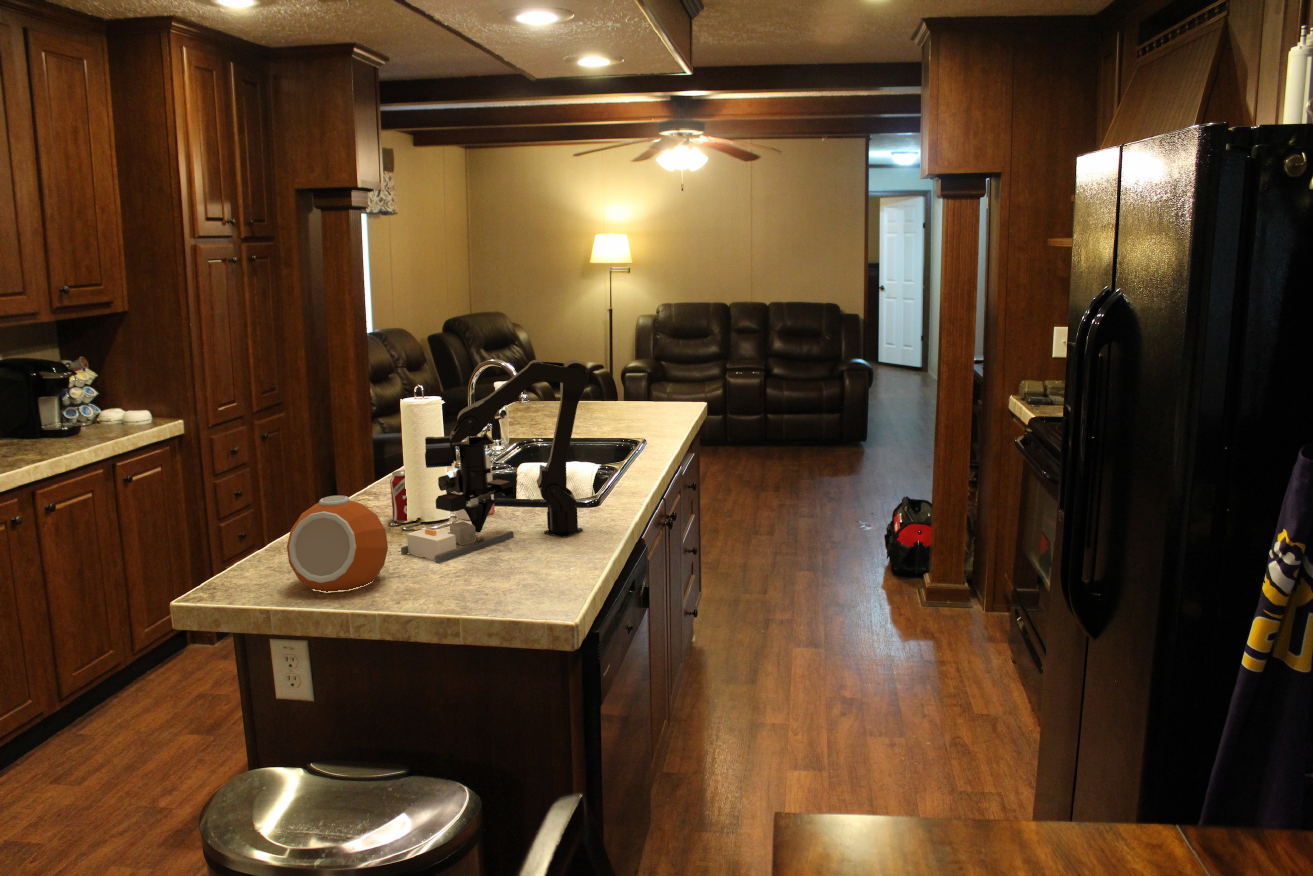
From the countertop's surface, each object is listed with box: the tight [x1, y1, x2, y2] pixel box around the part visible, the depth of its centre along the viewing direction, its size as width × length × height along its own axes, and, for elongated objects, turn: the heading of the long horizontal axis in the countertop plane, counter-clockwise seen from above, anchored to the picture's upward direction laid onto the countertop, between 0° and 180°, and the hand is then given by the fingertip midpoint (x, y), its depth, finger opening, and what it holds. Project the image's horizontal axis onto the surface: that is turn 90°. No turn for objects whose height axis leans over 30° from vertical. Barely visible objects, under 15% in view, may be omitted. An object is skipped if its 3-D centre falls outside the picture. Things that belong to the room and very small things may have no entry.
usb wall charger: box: [449, 521, 478, 546], centre depth 229 cm, size 4×7×4 cm, turn 38°
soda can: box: [389, 469, 407, 523], centre depth 248 cm, size 7×7×12 cm
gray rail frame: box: [400, 530, 514, 564], centre depth 227 cm, size 12×22×2 cm, turn 143°
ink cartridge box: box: [452, 454, 496, 521], centre depth 251 cm, size 9×5×15 cm, turn 143°
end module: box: [406, 528, 457, 561], centre depth 221 cm, size 10×5×6 cm, turn 53°
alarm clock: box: [286, 495, 389, 592], centre depth 203 cm, size 19×18×17 cm
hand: (478, 532), depth 232 cm, fingers closed
